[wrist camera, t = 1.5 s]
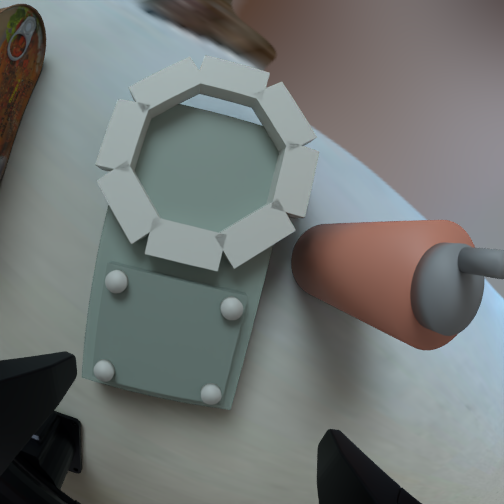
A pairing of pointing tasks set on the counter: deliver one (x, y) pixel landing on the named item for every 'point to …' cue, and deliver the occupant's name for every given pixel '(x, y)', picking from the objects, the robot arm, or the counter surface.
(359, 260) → the oil can
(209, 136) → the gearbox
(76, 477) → the counter surface
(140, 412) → the counter surface
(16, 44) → the tin
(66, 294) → the counter surface
